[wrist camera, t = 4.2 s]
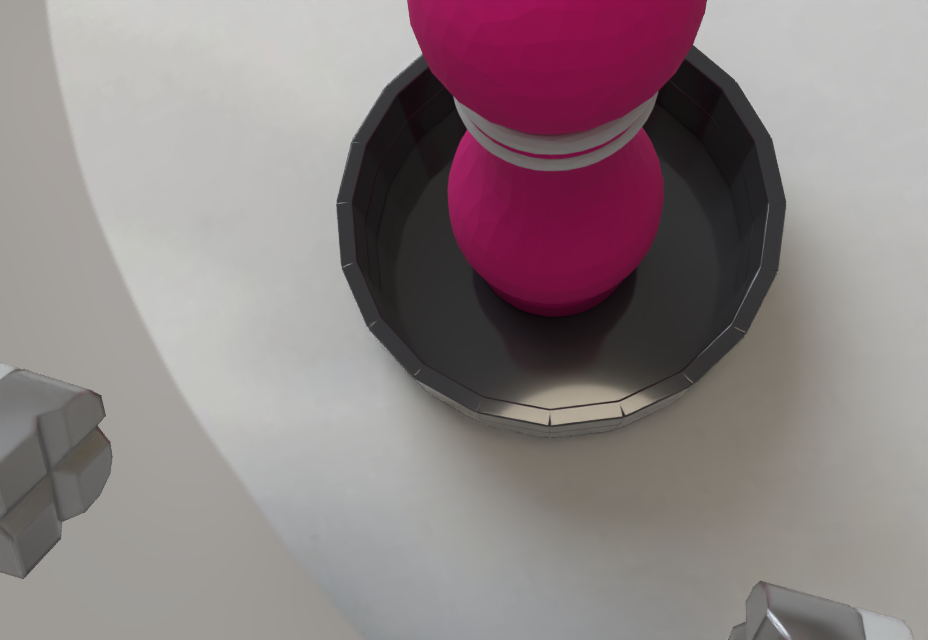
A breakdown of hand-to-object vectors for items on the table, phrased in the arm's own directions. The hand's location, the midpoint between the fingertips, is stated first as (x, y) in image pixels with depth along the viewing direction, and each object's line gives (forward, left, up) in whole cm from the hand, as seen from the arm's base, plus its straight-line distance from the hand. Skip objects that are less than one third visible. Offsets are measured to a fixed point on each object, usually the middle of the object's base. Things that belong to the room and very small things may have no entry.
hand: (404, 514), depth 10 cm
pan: (+11, 0, -21) cm, 23 cm away
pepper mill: (+11, 0, -20) cm, 23 cm away
